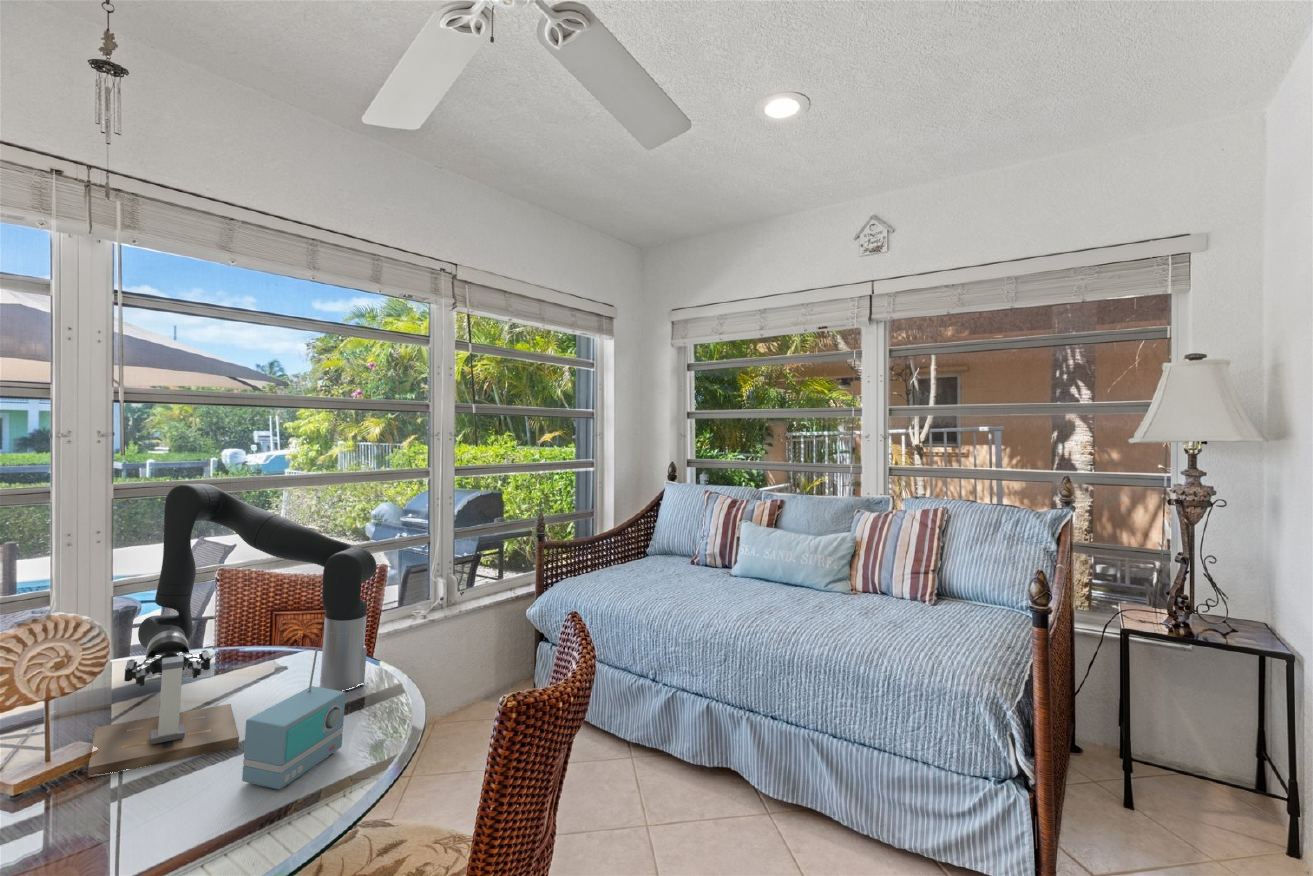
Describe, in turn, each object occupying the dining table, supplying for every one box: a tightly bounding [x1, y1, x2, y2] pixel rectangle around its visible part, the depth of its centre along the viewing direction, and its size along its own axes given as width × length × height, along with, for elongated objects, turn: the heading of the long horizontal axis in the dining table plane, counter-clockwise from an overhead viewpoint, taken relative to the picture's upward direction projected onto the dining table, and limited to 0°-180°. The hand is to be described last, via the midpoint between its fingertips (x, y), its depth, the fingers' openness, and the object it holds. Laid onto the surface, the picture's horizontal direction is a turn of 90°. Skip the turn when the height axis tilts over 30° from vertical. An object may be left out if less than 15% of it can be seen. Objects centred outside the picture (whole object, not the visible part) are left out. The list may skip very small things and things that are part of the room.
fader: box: [151, 656, 185, 744], centre depth 121 cm, size 5×4×15 cm
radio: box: [241, 648, 346, 790], centre depth 118 cm, size 16×9×20 cm, turn 168°
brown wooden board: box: [87, 703, 240, 777], centre depth 124 cm, size 22×17×2 cm
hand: (169, 677), depth 129 cm, fingers open, 8 cm apart
